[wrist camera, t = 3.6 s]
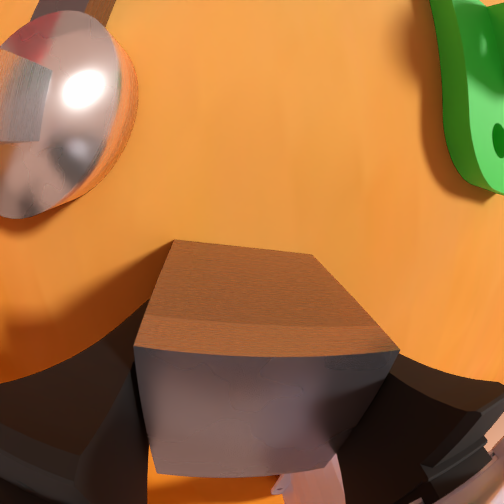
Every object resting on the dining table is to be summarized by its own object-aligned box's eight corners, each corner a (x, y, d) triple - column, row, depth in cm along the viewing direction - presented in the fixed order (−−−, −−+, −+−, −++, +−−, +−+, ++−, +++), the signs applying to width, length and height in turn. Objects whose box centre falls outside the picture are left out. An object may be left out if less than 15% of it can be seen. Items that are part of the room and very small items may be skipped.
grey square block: (284, 359, 12) (324, 468, 7) (170, 353, 11) (157, 473, 6) (312, 254, 11) (400, 349, 5) (174, 239, 10) (133, 345, 4)
